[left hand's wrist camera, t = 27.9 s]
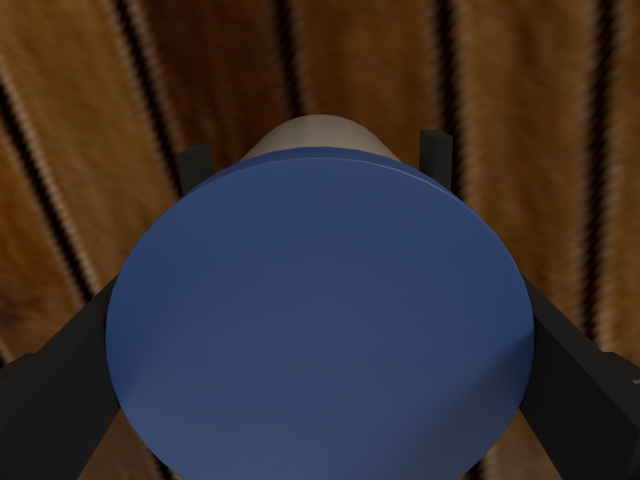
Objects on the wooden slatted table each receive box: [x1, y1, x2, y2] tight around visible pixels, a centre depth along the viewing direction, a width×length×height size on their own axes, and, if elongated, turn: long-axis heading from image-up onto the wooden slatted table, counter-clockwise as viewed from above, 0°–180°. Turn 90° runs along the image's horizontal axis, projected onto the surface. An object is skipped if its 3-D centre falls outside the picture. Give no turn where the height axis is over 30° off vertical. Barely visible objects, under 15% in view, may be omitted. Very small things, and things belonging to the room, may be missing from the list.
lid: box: [105, 147, 534, 480], centre depth 12 cm, size 11×11×2 cm
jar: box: [238, 115, 402, 163], centre depth 19 cm, size 10×10×16 cm
